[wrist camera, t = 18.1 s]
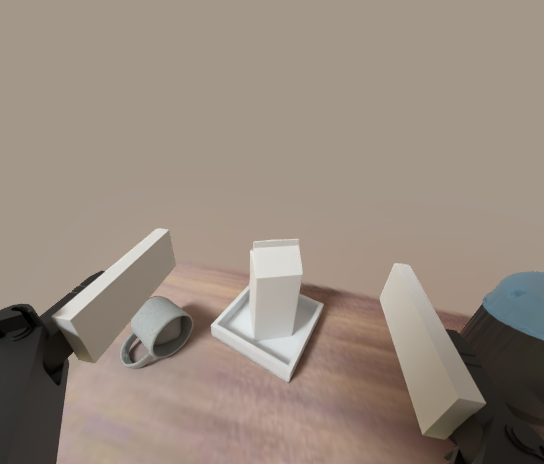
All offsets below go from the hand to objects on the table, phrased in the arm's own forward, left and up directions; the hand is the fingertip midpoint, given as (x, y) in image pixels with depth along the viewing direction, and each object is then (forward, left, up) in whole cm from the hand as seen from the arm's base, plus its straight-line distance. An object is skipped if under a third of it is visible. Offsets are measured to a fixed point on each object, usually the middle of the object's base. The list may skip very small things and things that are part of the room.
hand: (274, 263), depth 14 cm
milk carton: (+8, -17, -30) cm, 35 cm away
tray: (+8, -17, -30) cm, 35 cm away
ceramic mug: (+22, -3, -30) cm, 38 cm away
